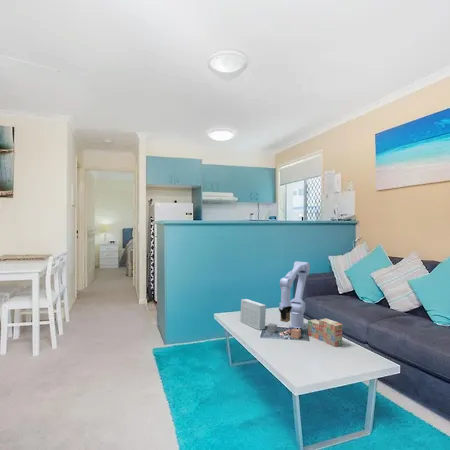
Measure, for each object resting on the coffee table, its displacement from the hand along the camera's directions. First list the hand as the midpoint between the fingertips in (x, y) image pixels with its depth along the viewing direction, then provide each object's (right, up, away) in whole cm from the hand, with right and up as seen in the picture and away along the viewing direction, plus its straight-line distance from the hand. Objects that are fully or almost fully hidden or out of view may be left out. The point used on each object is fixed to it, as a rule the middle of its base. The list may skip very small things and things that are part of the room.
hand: (285, 318), depth 200 cm
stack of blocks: (+22, -10, -10) cm, 26 cm away
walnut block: (0, -1, 0) cm, 1 cm away
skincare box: (-19, -9, +15) cm, 26 cm away
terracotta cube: (+5, -10, -6) cm, 13 cm away
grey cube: (-8, -9, +3) cm, 13 cm away
